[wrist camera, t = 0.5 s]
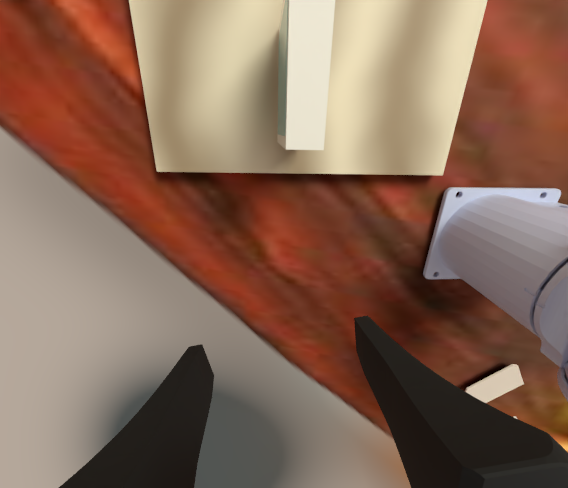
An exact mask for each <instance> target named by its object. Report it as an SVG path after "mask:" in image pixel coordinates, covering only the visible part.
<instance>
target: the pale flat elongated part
mask: <svg viewBox="0 0 568 488" xmlns="http://www.w3.org/2000/svg"><path fill="white" fill-rule="evenodd" d="M523 384H524V383H523V380H522V376H521V373H520V370H519V367H518V366H517V365H515V364H511V365H509V366H508V367H506V368H504V369H502V370H500V371H498V372H496V373H494V374H492V375H490V376H488V377H486V378H484V379H482V380H480V381H479V382H477V383H475V384H473V385H471V386H469V387H467V388H466V389H465V392H466V393H468V394H470V395H472V396H473V397H475V398H477V399H479V400H480V401H482V402H484V403H487V402H489V401H491V400H493V399H495V398H497V397H499V396H501V395H503V394H505V393H507V392H509V391H511V390H513V389H515V388H517V387H519V386H521V385H523ZM514 418H516V416H515V417H514ZM516 419H517V418H516Z"/></svg>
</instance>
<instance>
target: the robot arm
mask: <svg viewBox="0 0 568 488" xmlns="http://www.w3.org/2000/svg"><path fill="white" fill-rule="evenodd" d="M457 192H459V195H458V196H457V197H456V194H457ZM541 194H542V195H541ZM540 195H541V196H540ZM560 195H561V191H560V190H559V189H555V188H477V187H451V188H448V189H447V190H446V191H445V192H444V195H443V199H442V203H441V207H440V210H439V214H438V218H437V222H436V226H435V229H434V233H433V237H432V241H431V244H430V248H429V252H428V256H427V260H426V263H425V267H424V271H423V276H424V277H425V278H426V279H462V280H464V281H465V282H466V283H468V284H469V285H470V286H472V287H473V288H474V289H476V290H477V291H478V292H480V293H481V294H482V295H484V296H485V297H486V298H488V299H489V300H490V301H492V302H493V303H494V304H496V305H497V306H498V307H500V308H501V309H502V310H504V311H505V312H506V313H508V314H509V315H510V316H512V317H513V318H514V319H516V320H517V321H518V322H520V323H521V324H522V325H524V326H525V327H526V328H528V329H529V330H530V331H532V332H533V333H534V334H535V335H537V336H538V337H540V339H541V341H542V346H541V349H540V351H541V352H542V353H543V354H544V355H546V356H547V357H548V358H549V359H551V360H552V361H553V362H554V363H556V364H557V365H558V366H559V367H560V368H559V370H558V375H557V378H558V384H559V387H560V389H561V391H562V393H563V395H564V396H565V398H566V399H567V401H568V205H565V204H561V203H557V202H558V200H559V198H560ZM435 272H436V274H434V273H435ZM433 274H434V275H433ZM354 320H355V335H356V349H357V353H358V356H359V359H360V362H361V365H362V368H363V371H364V374H365V376H366V378H367V380H368V382H369V384H370V387H371V389H372V391H373V393H374V395H375V397H376V399H377V402H378V404H379V406H380V408H381V410H382V412H383V414H384V417H385V419H386V421H387V423H388V426H389V428H390V430H391V433H392V435H393V438H394V441H395V443H396V446H397V449H398V451H399V454H400V457H401V460H402V462H403V465H404V468H405V471H406V474H407V477H408V479H409V482H410V485H411V488H568V453H567V452H566V451H565V449H564V448H563V447H562V446H561V445H560V444H558V443H557V442H556V441H555V440H554V439H553V438H552V437H551V436H550V435H549V434H548V433H546V432H544V431H542V430H540V429H538V428H535V427H533V426H531V425H529V424H527V423H525V422H522V421H520V420H518V419H516V418H514V417H511V416H509V415H507V414H505V413H503V412H501V411H499V410H497V409H496V408H494V407H492V406H490V405H488V404H486V403H484V402H482V401H480V400H479V399H477V398H475V397H473V396H472V395H470V394H468V393H466V392H465V391H463V390H461V389H460V388H458V387H456V386H455V385H453V384H451V383H450V382H448V381H447V380H445V379H444V378H442V377H441V376H439V375H438V374H436V373H435V372H433V371H432V370H430V369H429V368H428V367H426V366H425V365H424V364H422V363H421V362H420V361H418V360H417V359H416V358H414V357H413V356H412V355H411V354H409V353H408V352H407V351H406V350H405V349H403V348H402V347H401V346H400V345H399V344H398V343H396V342H395V341H394V340H393V339H392V338H391V337H390V336H388V335H387V334H386V333H385V332H384V331H383V330H382V329H381V328H380V327H379V326H378V325H377V324H376V323H375V322H374V321H373V320H372V319H371V318H370V317H368V316H363V317H357V318H354ZM213 379H214V374H213V372H212V369H211V366H210V364H209V362H208V359H207V356H206V354H205V351H204V348H203V346H202V345H196V346H191V347H189V348H188V349H187V350H186V352H185V353H184V354H183V356H182V357H181V358H180V360H179V361H178V362H177V364H176V365H175V366H174V368H173V369H172V371H171V372H170V373H169V375H168V376H167V377H166V378H165V380H164V381H163V383H162V384H161V385H160V386H159V388H158V389H157V390H156V392H155V393H154V394H153V395H152V396H151V397H150V399H149V400H148V401H147V402H146V403H145V405H144V406H143V407H142V408H141V409H140V410H139V412H138V413H137V414H136V415H135V416H134V417H133V418H132V419H131V421H130V422H129V423H128V424H127V425H126V426H125V427H124V428H123V429H122V430H121V431H120V432H119V433H118V434H117V435H116V436H115V437H114V438H113V439H112V440H111V441H110V442H109V443H108V444H107V445H106V446H105V447H104V448H103V449H102V450H101V451H100V452H99V453H98V454H96V455H95V456H94V457H93V458H92V459H91V460H90V461H89V462H88V463H87V464H86V465H85V466H83V467H82V468H81V469H80V470H79V471H78V472H77V473H76V474H74V475H73V476H72V477H71V478H70V479H69V480H68V481H66V482H65V483H64V484H63V485H62V486H60V487H59V488H194V483H195V476H196V469H197V462H198V458H199V453H200V448H201V444H202V439H203V435H204V431H205V426H206V422H207V417H208V413H209V408H210V403H211V398H212V390H213Z"/></svg>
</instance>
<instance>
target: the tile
mask: <svg viewBox="0 0 568 488" xmlns="http://www.w3.org/2000/svg"><path fill="white" fill-rule="evenodd" d="M334 11H335V0H283V5H282V11H281V18H280V24H279V43H278V126H277V142H278V143H279V144H280V145H281V146H282V147H283V148H285V149H286V150H324V140H325V127H326V114H327V101H328V88H329V75H330V63H331V50H332V37H333V24H334Z"/></svg>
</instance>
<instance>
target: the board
mask: <svg viewBox="0 0 568 488" xmlns="http://www.w3.org/2000/svg"><path fill="white" fill-rule="evenodd" d="M486 4H487V0H335V11H334V24H333V37H332V50H331V63H330V75H329V88H328V101H327V114H326V127H325V140H324V150H286V149H285V148H283V147H282V146H281V145H280V144H279V143H278V142H277V126H278V43H279V24H280V18H281V11H282V5H283V0H129V5H130V11H131V17H132V23H133V29H134V35H135V41H136V48H137V54H138V60H139V66H140V72H141V78H142V84H143V90H144V97H145V103H146V109H147V115H148V121H149V127H150V133H151V139H152V146H153V152H154V158H155V164H156V170H157V172H216V173H296V174H377V175H443V172H444V168H445V164H446V161H447V157H448V153H449V149H450V145H451V141H452V137H453V133H454V129H455V125H456V121H457V117H458V114H459V110H460V106H461V102H462V98H463V94H464V90H465V86H466V82H467V78H468V74H469V70H470V67H471V63H472V59H473V55H474V51H475V47H476V43H477V39H478V35H479V31H480V27H481V23H482V20H483V16H484V12H485V8H486Z"/></svg>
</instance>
